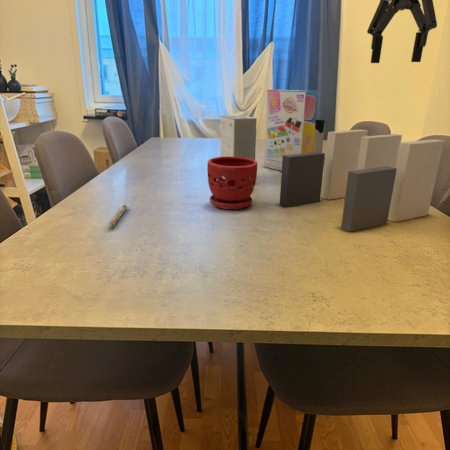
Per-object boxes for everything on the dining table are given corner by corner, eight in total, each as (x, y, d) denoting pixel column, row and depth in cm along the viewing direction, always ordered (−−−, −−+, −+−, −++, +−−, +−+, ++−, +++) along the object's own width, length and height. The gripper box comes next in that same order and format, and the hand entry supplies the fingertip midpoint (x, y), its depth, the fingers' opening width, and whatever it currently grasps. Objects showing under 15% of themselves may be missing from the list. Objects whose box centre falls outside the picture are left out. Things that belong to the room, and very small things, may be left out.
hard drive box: (255, 184, 141) (257, 118, 132) (232, 185, 139) (233, 119, 130) (240, 174, 154) (241, 114, 145) (219, 176, 152) (219, 114, 143)
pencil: (112, 230, 98) (127, 208, 114) (111, 226, 98) (127, 204, 114) (106, 230, 98) (122, 208, 114) (106, 226, 98) (122, 204, 114)
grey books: (386, 223, 104) (397, 168, 98) (350, 231, 98) (358, 173, 92) (313, 199, 124) (317, 151, 118) (279, 204, 119) (282, 155, 113)
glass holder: (298, 158, 185) (301, 120, 178) (312, 154, 196) (315, 118, 189) (317, 160, 181) (321, 121, 174) (330, 155, 191) (334, 119, 184)
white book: (389, 204, 120) (402, 135, 111) (358, 209, 114) (368, 138, 106) (382, 201, 122) (394, 134, 113) (351, 207, 116) (361, 136, 108)
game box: (311, 174, 155) (319, 90, 143) (300, 176, 152) (307, 90, 140) (274, 165, 170) (278, 88, 158) (263, 166, 168) (266, 89, 155)
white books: (427, 215, 110) (444, 140, 102) (395, 222, 105) (410, 144, 97) (351, 192, 131) (360, 129, 123) (321, 197, 126) (328, 131, 117)
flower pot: (200, 209, 115) (199, 162, 109) (218, 197, 125) (218, 154, 120) (246, 214, 110) (247, 166, 105) (261, 202, 121) (263, 157, 116)
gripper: (361, -28, 115) (350, 63, 124) (446, -48, 96) (425, 61, 105) (381, -25, 118) (368, 63, 128) (466, -44, 99) (444, 61, 109)
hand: (394, 62), depth 117 cm, fingers open, 13 cm apart
